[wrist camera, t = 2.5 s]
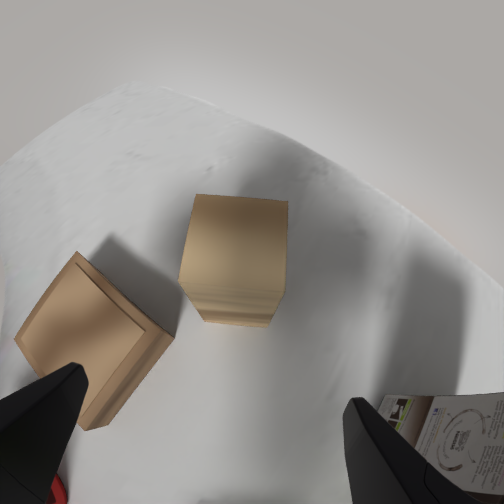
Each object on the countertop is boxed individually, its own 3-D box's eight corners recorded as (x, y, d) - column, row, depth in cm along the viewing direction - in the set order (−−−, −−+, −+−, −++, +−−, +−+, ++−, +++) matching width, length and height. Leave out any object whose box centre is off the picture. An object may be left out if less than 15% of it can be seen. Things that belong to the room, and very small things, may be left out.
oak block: (267, 327, 22) (285, 291, 13) (204, 321, 22) (178, 281, 13) (271, 269, 24) (288, 201, 15) (212, 263, 24) (196, 194, 15)
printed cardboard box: (351, 459, 17) (487, 529, 3) (384, 392, 20) (546, 378, 5) (425, 476, 16) (553, 508, 1) (452, 416, 18) (589, 407, 4)
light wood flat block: (174, 338, 21) (160, 329, 18) (108, 425, 18) (84, 431, 14) (96, 268, 24) (75, 250, 20) (39, 346, 20) (12, 338, 16)
